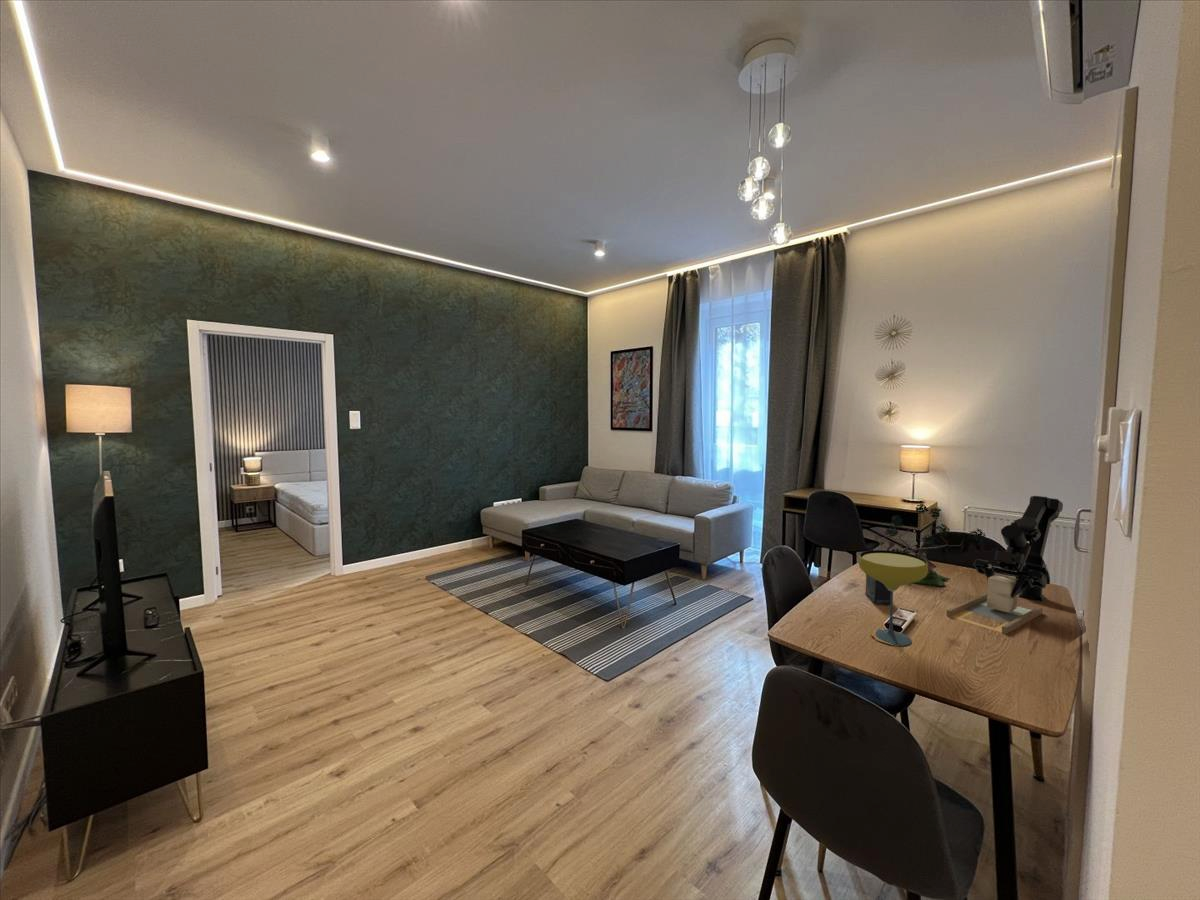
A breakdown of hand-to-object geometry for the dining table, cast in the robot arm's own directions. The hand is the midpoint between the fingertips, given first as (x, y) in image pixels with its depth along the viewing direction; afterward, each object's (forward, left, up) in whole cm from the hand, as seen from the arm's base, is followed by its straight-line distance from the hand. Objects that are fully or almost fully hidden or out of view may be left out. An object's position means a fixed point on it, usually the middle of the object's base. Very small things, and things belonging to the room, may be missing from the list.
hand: (1000, 593), depth 163 cm
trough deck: (+4, -1, -8) cm, 9 cm away
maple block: (-1, 0, -5) cm, 5 cm away
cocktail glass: (+42, -20, -8) cm, 47 cm away
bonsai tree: (-20, -25, -8) cm, 33 cm away
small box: (+12, -33, -8) cm, 36 cm away
